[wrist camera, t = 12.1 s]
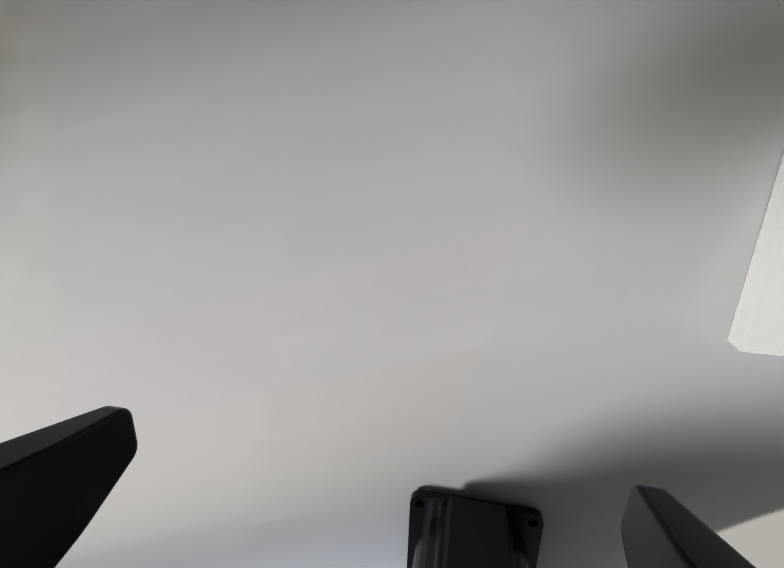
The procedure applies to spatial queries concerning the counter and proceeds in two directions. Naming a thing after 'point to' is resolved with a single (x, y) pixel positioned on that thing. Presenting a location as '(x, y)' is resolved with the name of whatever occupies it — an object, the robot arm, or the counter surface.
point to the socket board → (764, 285)
